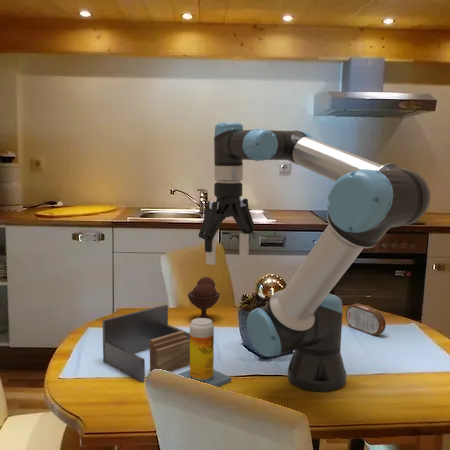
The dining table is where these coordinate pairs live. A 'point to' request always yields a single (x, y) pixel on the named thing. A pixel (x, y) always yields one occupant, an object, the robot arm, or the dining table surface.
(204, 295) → the ice cream bowl
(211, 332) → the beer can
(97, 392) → the dining table surface
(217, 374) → the mat
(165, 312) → the grey open frame
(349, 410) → the dining table surface
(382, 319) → the tin
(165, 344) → the offcuts
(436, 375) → the dining table surface
